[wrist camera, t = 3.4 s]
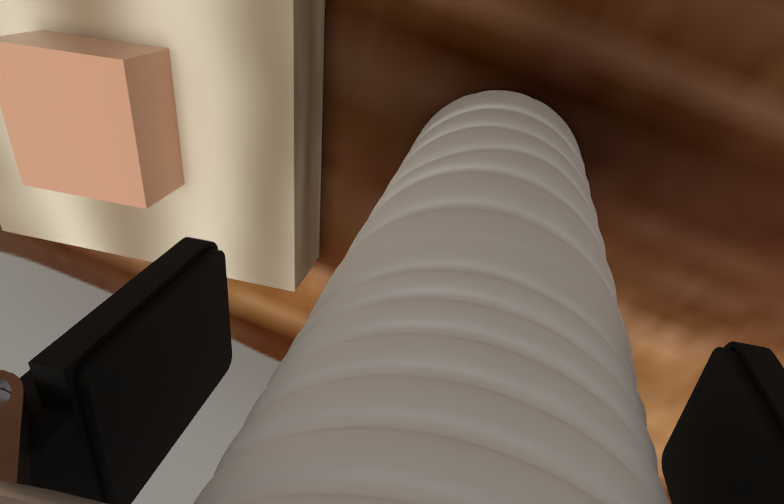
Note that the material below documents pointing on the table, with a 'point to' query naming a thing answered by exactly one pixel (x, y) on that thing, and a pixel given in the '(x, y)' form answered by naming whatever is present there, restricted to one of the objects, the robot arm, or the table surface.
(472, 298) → the water bottle
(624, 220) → the table surface
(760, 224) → the table surface
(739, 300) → the table surface
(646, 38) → the table surface
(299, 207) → the birch plate
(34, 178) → the terracotta tile
